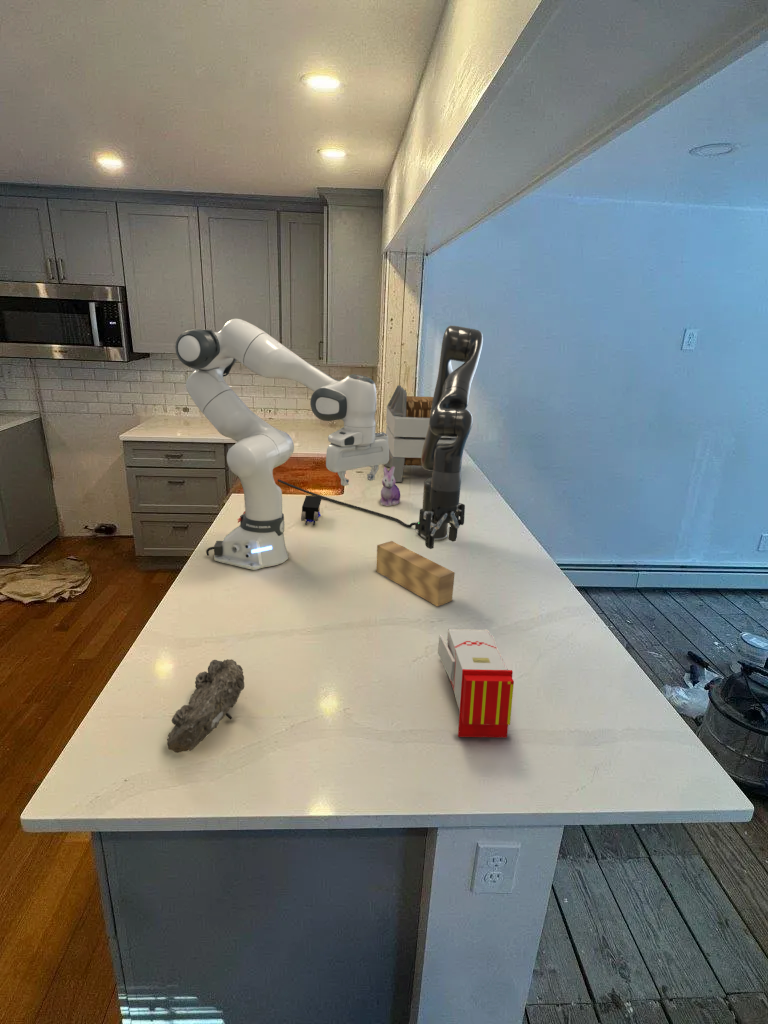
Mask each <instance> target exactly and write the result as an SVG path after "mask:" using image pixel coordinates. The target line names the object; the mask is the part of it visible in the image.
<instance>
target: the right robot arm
mask: <svg viewBox="0 0 768 1024" xmlns="http://www.w3.org/2000/svg"><path fill="white" fill-rule="evenodd" d="M483 336H484V335H483V332H482V331H480V330H479V329H476V328H470V327H465V326H459V325H448V326H447V327H446V329H445V331H444V333H443V335H442V342H441V348H440V356H439V365H438V374H437V377H436V383H435V388H434V392H433V396H432V397H433V401H432V407H431V414H430V420H429V426H428V431H427V435H426V438H425V442H424V445H423V449H422V455H421V464H422V466H421V467H422V468H423V470H425V471H432V474H431V477H429V478H427V479H425V480H424V482H423V493H422V496H423V497H422V506H421V508H420V509H419V516H418V521H416V522H411V523H410V524H407V523H405V522H404V521H402V520H401V519H399V518H396V517H394V516H391V515H389V514H388V515H387V514H385V513H384V514H383V513H381V512H377V511H374V510H371V509H367V508H364V507H360V506H358V505H354V504H350V503H347V502H343V501H340V500H337V499H334V498H331V497H327V496H324V495H321V494H318V493H315V492H312V491H309V490H306V489H304V488H302V487H298V486H296V485H293V484H291V483H288V482H286V481H284V480H282V479H279V478H278V479H277V482H279V483H281V484H283V485H285V486H287V487H290V488H293V489H295V490H298V491H300V492H303V493H304V494H309V495H310V496H319V497H322V500H323V499H324V500H326V501H330V502H333V503H335V504H338V505H342V506H346V507H350V508H353V509H356V510H360V511H362V512H366V513H369V514H372V515H376V516H379V517H383V518H386V519H390V520H392V521H395V522H397V523H399V524H400V525H402V526H403V527H405V528H412V527H413V526H414V529H415V530H417V535H418V536H420V538H421V539H424V540H425V541H424V545H425V547H426V548H427V549H430V550H432V549H434V548H435V547H434V546H435V542H440V541H444V540H446V539H447V538H448V541H451V542H452V543H453V542H456V541H457V539H458V530H459V528H460V526H464V524H465V513H466V510H465V509H466V505H465V504H464V503H461V502H460V496H461V485H462V465H463V464H462V462H463V455H464V450H465V446H466V443H467V441H468V437H469V435H470V433H471V431H472V427H473V424H474V417H473V415H472V412H471V411H470V410H469V409H467V408H468V405H469V400H470V394H471V387H472V383H473V380H474V376H475V374H476V372H477V371H476V370H477V368H478V365H479V361H480V357H481V354H482V349H483V344H484V343H483V342H484V337H483ZM452 361H456V362H461V363H462V364H461V365H460V366H458V367H457V368H455V369H454V370H453V366H452ZM442 436H447V437H456V438H457V439H456V441H455V442H454V443H451V444H450V443H438V441H439V439H440V438H441V437H442ZM448 525H449V528H448Z"/></svg>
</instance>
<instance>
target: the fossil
mask: <svg viewBox="0 0 768 1024" xmlns="http://www.w3.org/2000/svg"><path fill="white" fill-rule="evenodd" d="M243 670H244V669H243V667H242V665H240V664H237V662H236V661H235V660H234V659H232V658H231V659H227V658H226V659H224V660H223V661H222V660H217V659H212V660H211V661H210V663H209V665H208V666H207V671H201V672H199V673H198V674H197V675H196V676H195V680H194V684H195V685H194V687H195V689H194V690H193V693H192V694H191V697H190V698H189V700H188V704H184V705H182V706H181V707H180V709H177V710H176V711H175V713H174V715H173V716H172V718H171V723H172V724H173V727H172V730H171V731H170V732H168V734H167V738H166V741H167V742H166V745H167V749H168V750H169V751H173V752H174V753H176V754H178V753H182V752H188V751H189V752H192V751H193V750H195V748H196V747H197V746H199V744H200V743H201V742H203V741H204V740H205V739H206V738H207V737H208V736H209V735H210V734H211V733H212V732H214V730H215V729H217V727H218V726H219V724H220V722H221V721H222V720H223V719H224V718H225V716H226V717H227V719H229V720H233V717H232V715H230V714H229V710H230V709H231V708H234V706H235V704H236V703H237V702H238V699H239V697H240V695H241V693H242V691H243V690H245V689H244V688H245V675H244V671H243Z"/></svg>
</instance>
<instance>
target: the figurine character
mask: <svg viewBox="0 0 768 1024" xmlns="http://www.w3.org/2000/svg"><path fill="white" fill-rule="evenodd" d="M322 500H323V498H322V497H319V496H314V495H305V498H304V500H303V502H302V507H301V515H300V521H301V522H304V525H305V526H308V523H312V526H315V525H316V522H318V521H319V518H320V517H322V516H321V513H320V509H321V508H320V506H321V503H322Z"/></svg>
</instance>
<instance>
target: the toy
mask: <svg viewBox="0 0 768 1024" xmlns="http://www.w3.org/2000/svg"><path fill="white" fill-rule="evenodd" d="M446 640H447V643H446V641H445V639H444V636H443V635H442V634H439V637H438V646H437V656H438V657H439V659H440V661H441V663H442V666H443V668H444V670H445V672H446V674H447V677H448V679H449V681H450V684H451V687H452V690H453V693H454V697H455V701H456V705H457V708H458V711H459V714H458V715H459V716H458V730H457V731H458V732H457V737H458V738H508V731H509V726H510V725H511V717H512V707H513V697H514V696H513V695H514V684H515V680H514V679H513V673H514V671H513V670H512V669H508V667H507V665H506V662H505V661H504V659H503V658H502V655H501V653H500V651H499V649H498V647H497V643H496V639H495V637H494V635H493V634H491V632H490V631H489V629H467V628H466V629H465V628H463V629H461V628H460V629H459V628H448V630H447V639H446Z"/></svg>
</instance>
